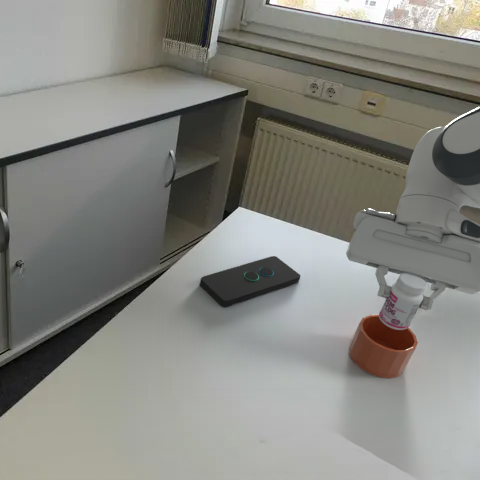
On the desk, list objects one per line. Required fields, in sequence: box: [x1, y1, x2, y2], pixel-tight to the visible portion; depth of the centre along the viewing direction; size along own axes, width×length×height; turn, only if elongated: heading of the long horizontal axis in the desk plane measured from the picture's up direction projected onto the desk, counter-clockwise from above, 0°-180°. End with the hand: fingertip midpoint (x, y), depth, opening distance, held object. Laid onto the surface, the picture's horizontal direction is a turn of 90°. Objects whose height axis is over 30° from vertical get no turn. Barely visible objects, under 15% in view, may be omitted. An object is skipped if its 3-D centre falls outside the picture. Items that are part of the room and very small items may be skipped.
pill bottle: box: [378, 273, 428, 330], centre depth 86 cm, size 5×5×8 cm
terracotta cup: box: [348, 314, 419, 379], centre depth 91 cm, size 9×9×6 cm
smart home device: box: [199, 255, 301, 308], centre depth 108 cm, size 8×2×20 cm
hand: (403, 302), depth 86 cm, fingers closed on pill bottle, 5 cm apart
